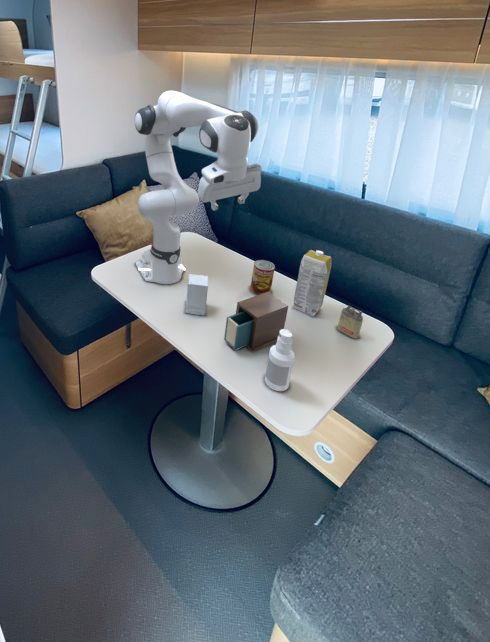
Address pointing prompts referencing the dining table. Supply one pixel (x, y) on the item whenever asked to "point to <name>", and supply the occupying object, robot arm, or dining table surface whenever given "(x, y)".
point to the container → (239, 330)
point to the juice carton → (312, 282)
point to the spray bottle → (280, 362)
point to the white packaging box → (197, 294)
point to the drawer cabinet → (264, 318)
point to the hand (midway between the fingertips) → (227, 205)
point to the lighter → (350, 322)
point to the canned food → (262, 277)
